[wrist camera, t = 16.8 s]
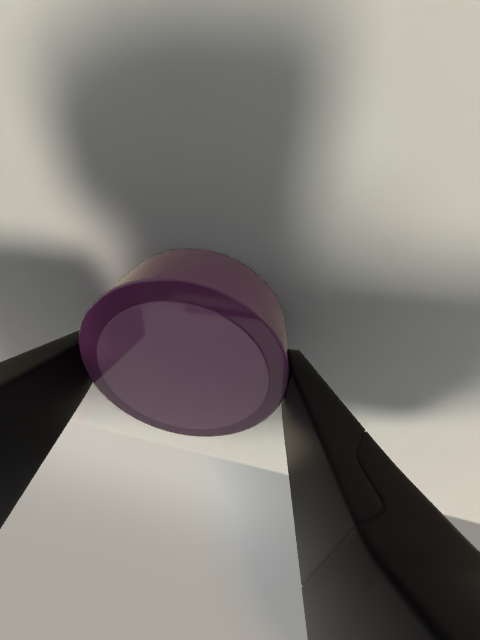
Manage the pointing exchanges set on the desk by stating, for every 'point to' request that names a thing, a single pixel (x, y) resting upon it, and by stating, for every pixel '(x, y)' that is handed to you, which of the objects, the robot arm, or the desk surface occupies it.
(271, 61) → the desk surface
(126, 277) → the dish
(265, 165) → the desk surface
